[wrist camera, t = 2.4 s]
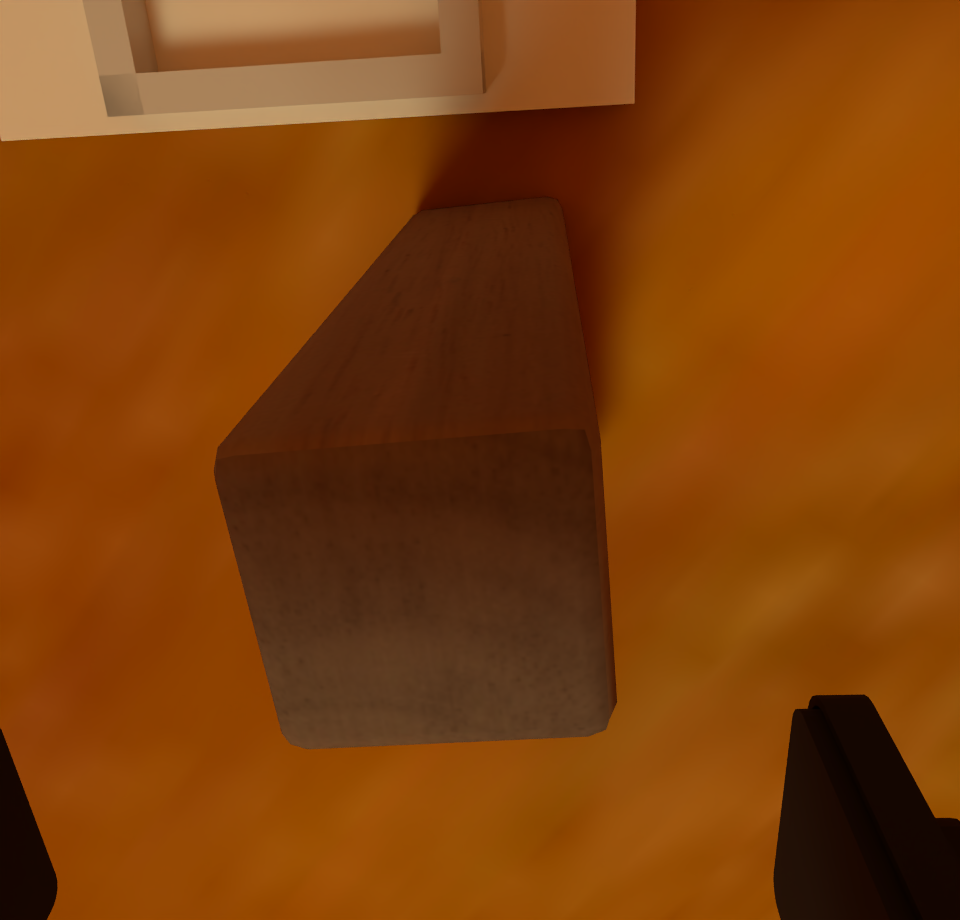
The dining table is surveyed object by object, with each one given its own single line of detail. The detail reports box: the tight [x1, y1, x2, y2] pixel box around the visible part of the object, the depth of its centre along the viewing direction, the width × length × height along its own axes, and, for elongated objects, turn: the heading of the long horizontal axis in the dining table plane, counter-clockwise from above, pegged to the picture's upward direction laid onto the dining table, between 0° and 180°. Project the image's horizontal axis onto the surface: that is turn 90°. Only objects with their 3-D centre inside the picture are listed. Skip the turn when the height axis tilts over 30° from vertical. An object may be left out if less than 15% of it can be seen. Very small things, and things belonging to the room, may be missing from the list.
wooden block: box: [214, 197, 617, 749], centre depth 19 cm, size 9×4×18 cm, turn 7°
